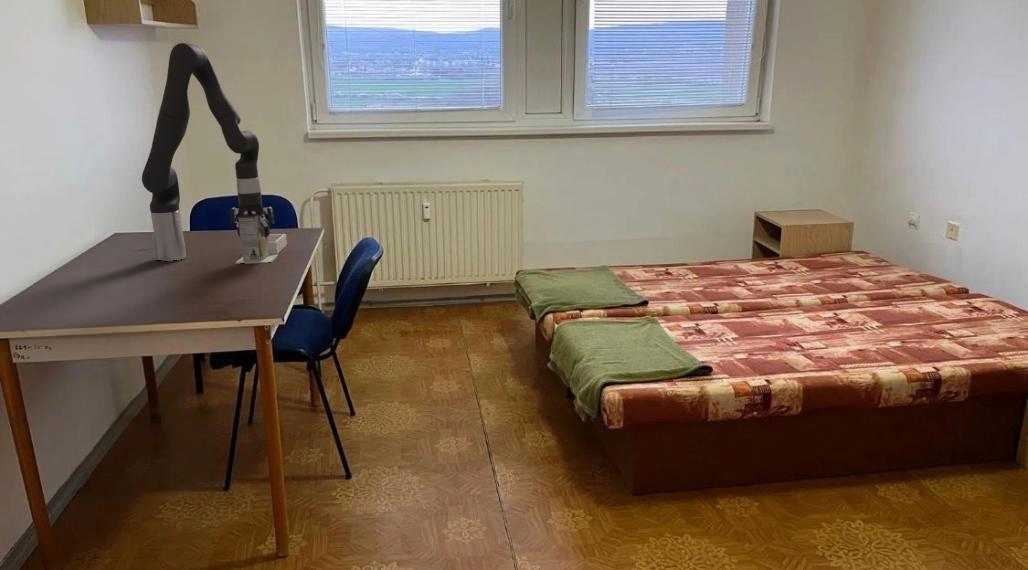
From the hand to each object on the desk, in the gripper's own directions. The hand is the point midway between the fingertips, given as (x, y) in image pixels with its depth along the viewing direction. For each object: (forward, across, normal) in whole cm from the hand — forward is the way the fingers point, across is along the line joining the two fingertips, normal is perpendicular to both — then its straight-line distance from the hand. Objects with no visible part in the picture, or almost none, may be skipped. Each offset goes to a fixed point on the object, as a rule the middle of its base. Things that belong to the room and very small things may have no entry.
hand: (254, 237), depth 254 cm
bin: (+8, 0, +14) cm, 16 cm away
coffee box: (+8, 0, 0) cm, 8 cm away
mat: (+8, 0, 0) cm, 8 cm away
